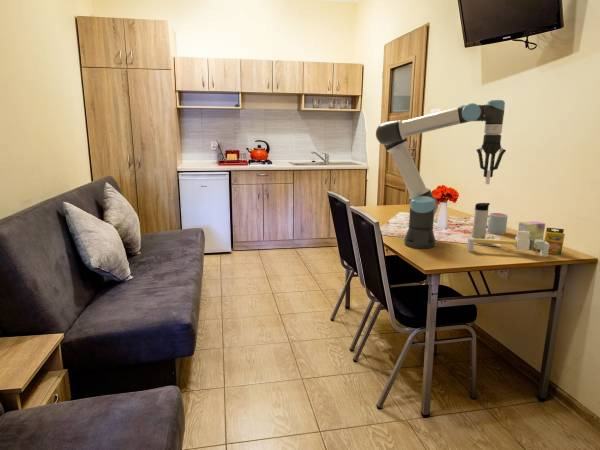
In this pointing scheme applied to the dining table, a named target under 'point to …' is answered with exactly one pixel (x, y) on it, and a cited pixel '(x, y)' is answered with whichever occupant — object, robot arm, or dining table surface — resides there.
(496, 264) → the dining table surface
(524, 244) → the sleeve
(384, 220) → the dining table surface
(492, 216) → the mug
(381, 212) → the dining table surface
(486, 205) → the travel mug
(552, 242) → the crayon box
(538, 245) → the rail
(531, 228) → the box
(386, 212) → the dining table surface
